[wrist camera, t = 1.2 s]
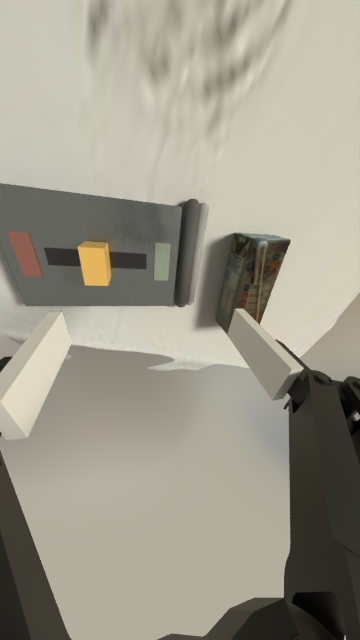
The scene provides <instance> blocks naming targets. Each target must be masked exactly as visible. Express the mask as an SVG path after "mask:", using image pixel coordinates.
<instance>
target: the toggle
mask: <svg viewBox="0 0 360 640" xmlns="http://www.w3.org/2000/svg"><path fill="white" fill-rule="evenodd" d="M78 252H79V257H80V262H81V268H82V273H83V278H84V283H85V285H90V286H108V285H109V282H110V279H111V267H110V257H109V248H108V243H105V242H92V241H85V242H83V243H82V244H81V245H79V246H78Z"/></svg>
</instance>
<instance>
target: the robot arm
mask: <svg viewBox="0 0 360 640" xmlns="http://www.w3.org/2000/svg"><path fill="white" fill-rule="evenodd" d="M227 335H228V337H229V338H230V340H231V341H232V343H233V344H234V345H235V347H236V348H237V350H238V351H239V353H240V354H241V356H242V357H243V358H244V360H245V361H246V363H247V364H248V366H249V367H250V369H251V370H252V371H253V373H254V374H255V376H256V377H257V379H258V380H259V382H260V383H261V385H262V386H263V387H264V389H265V390H266V392H267V393H268V395H269V396H270V398H271V399H272V400H278V399H283V398H284V397H285V395H286V394H287V393H288V394H289V395H290V399H289V400H288V402H287V403H286V404H285V406H284V409H286V408H287V407H288V406H289V410H288V411H289V457H290V458H289V463H290V533H291V535H290V539H291V544H290V553H289V556H288V558H287V561H286V566H285V574H284V598H253V599H251V600H248V601H246V602H244V603H241V604H239V605H237V606H235V607H232V608H230V609H229V610H228V611H227V612H226V613H225V614H224V616H223V617H222V618H221V619H220V620H219V621H218V622H217V623H216V625H215V626H214V627H213V628H212V629H211V630H210V631H209V633H208V634H207V635H205V636H203V637H199V636H190V635H189V636H188V635H180V634H170V635H167V636H165V637H163V638H160V639H158V640H344V636H345V635H346V640H360V419H359V420H358V421H357V420H356V419H355V418H354V415H355V414H356V413H357V412H358V413H359V415H360V379H359V378H356V377H350V376H349V377H347V378H346V379H345V380H344V381H343V382H340V381H334V380H332V379H331V378H330V377H328V376H327V375H325V374H324V373H322V372H319V371H315V370H310V369H309V368H308V367H307V366H306V365H305V364H304V363H303V362H302V361H301V360H300V359H299V358H298V357H297V356H296V355H295V354H293V352H292V351H290V350H289V349H288V348H287V347H286V346H285V345H284V344H283V343H281V342H280V341H278V340H276V339H274V338H273V337H272V336H271V335H269V334H268V333H267V332H266V331H265V330H264V329H263V328H262V327H261V326H260V325H259V324H258V323H257V322H256V321H255V320H254V319H253V318H252V317H251V316H250V315H249V314H248V313H247V312H246V311H245V310H244V309H235V310H234V314H233V317H232V320H231V324H230V327H229V330H228V334H227ZM70 345H71V340H70V336H69V333H68V330H67V326H66V323H65V320H64V316H63V313H62V311H61V312H49V313H48V314H47V315H46V316H45V318H44V319H43V320H42V321H41V322H40V324H39V325H38V326H37V327H36V329H35V330H34V331H33V332H32V334H31V335H30V336H29V337H28V339H27V340H26V341H25V342H24V344H23V345H22V346H21V347H20V349H19V350H18V351H17V353H16V354H15V355H14V356H13V357H4V358H2V359H1V360H0V436H1V434H2V435H3V436H4V438H5V439H6V440H7V441H8V440H16V439H22V438H27V437H28V436H29V433H30V431H31V429H32V427H33V425H34V423H35V420H36V418H37V416H38V414H39V412H40V409H41V407H42V405H43V403H44V401H45V399H46V397H47V395H48V392H49V390H50V388H51V386H52V384H53V382H54V379H55V377H56V375H57V373H58V371H59V369H60V367H61V364H62V362H63V360H64V358H65V356H66V354H67V351H68V349H69V347H70ZM0 640H71V638H70V637H69V635H68V633H67V630H66V628H65V626H64V623H63V620H62V617H61V615H60V612H59V609H58V606H57V604H56V601H55V598H54V596H53V593H52V590H51V587H50V585H49V582H48V579H47V577H46V574H45V571H44V569H43V566H42V563H41V560H40V558H39V555H38V552H37V550H36V547H35V544H34V541H33V538H32V536H31V533H30V530H29V528H28V525H27V522H26V520H25V517H24V514H23V511H22V509H21V506H20V503H19V501H18V498H17V495H16V492H15V490H14V487H13V484H12V482H11V479H10V477H9V474H8V471H7V468H6V465H5V463H4V460H3V457H2V454H1V452H0Z"/></svg>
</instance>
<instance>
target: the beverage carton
mask: <svg viewBox="0 0 360 640" xmlns="http://www.w3.org/2000/svg"><path fill="white" fill-rule="evenodd" d="M290 241H291V240H290V239H286V238H281V237H279V236H275V235H259V234H247V233H234V237H233V242H232V247H231V252H230V256H229V260H228V265H227V270H226V275H225V279H224V284H223V288H222V293H221V298H220V303H219V308H218V313H217V318H216V320H217V322H218V323H219V324H220V326H221V327H222V328H223V330H224V331H225V332H226V334H228V330H229V327H230V324H231V320H232V317H233V314H234V310H235V309H244V310H245V311H246V312H247V313H248V314H249V315H250V316H251V317H252V318H253V319H254V320H255V321H256V322H257V323H258V324H259V325H260V322H261V319H262V316H263V314H264V311H265V308H266V306H267V303H268V300H269V297H270V294H271V291H272V289H273V286H274V283H275V281H276V278H277V275H278V273H279V270H280V267H281V265H282V262H283V259H284V256H285V254H286V252H287V249H288V246H289V244H290Z"/></svg>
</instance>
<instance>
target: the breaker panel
mask: <svg viewBox="0 0 360 640" xmlns="http://www.w3.org/2000/svg"><path fill="white" fill-rule="evenodd" d="M181 215H182V207H179V206H171V205H164V204H156V203H148V202H141V201H133V200H125V199H117V198H110V197H102V196H94V195H86V194H79V193H71V192H63V191H55V190H48V189H40V188H32V187H24V186H17V185H9V184H1V183H0V244H1V246H2V249H3V251H4V253H5V256H6V258H7V261H8V263H9V266H10V268H11V271H12V273H13V275H14V278H15V280H16V283H17V285H18V288H19V290H20V293H21V295H22V298H23V300H24V302H25V305H26V306H173V298H174V288H175V277H176V267H177V256H178V246H179V236H180V225H181ZM85 241H92V242H105V243H108V248H109V257H110V267H111V279H110V282H109V285H108V286H90V285H85V283H84V278H83V273H82V268H81V262H80V257H79V252H78V246H79V245H81V244H82V243H83V242H85Z"/></svg>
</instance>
